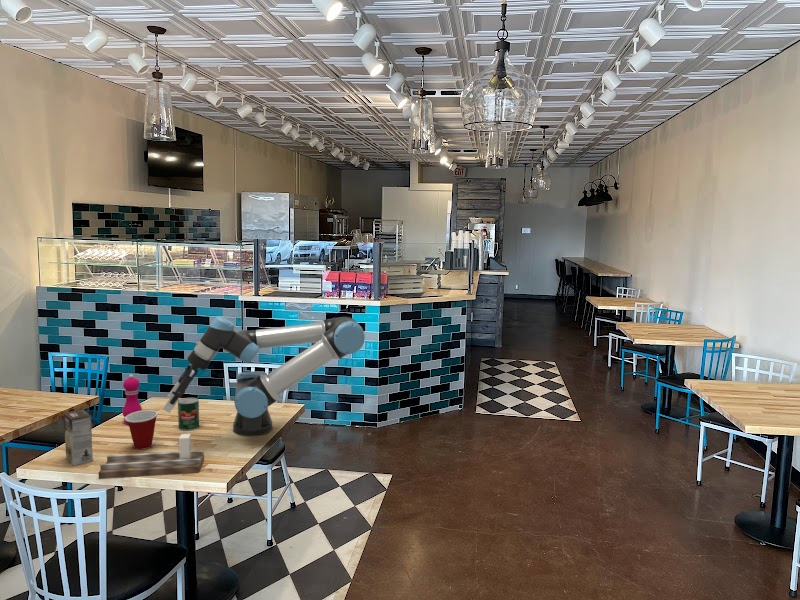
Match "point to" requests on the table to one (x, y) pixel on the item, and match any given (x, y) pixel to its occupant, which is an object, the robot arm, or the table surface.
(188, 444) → the fader tab
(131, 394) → the pepper mill
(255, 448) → the table surface
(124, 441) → the table surface
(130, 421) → the plastic cup
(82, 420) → the coffee box
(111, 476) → the fader track
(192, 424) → the canned tomato
